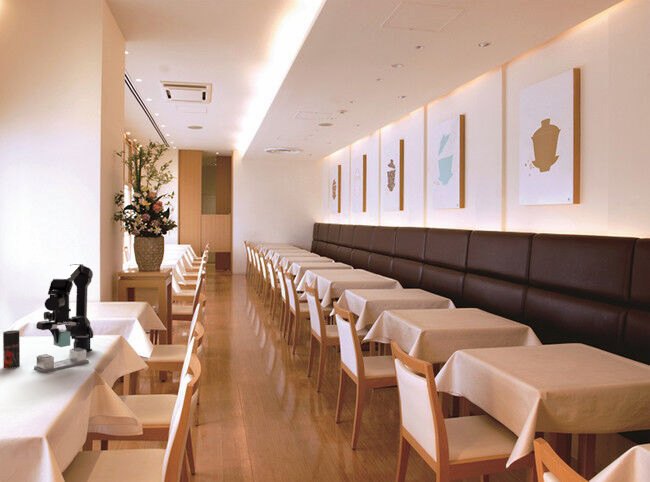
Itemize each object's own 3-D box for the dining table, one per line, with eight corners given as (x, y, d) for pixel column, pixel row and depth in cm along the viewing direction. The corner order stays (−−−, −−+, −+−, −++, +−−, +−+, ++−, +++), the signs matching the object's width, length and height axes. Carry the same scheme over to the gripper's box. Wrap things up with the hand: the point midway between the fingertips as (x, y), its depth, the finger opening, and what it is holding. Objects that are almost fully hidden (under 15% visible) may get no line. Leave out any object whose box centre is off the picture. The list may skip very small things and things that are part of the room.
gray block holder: (78, 359, 227) (78, 346, 227) (88, 362, 222) (88, 349, 221) (34, 368, 211) (34, 355, 211) (44, 372, 206) (44, 358, 206)
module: (62, 342, 220) (62, 328, 219) (70, 345, 216) (70, 331, 216) (53, 344, 217) (53, 330, 216) (61, 347, 213) (60, 332, 212)
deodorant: (23, 365, 216) (22, 331, 215) (10, 369, 210) (10, 333, 210) (12, 363, 218) (12, 329, 217) (0, 367, 212) (-1, 332, 212)
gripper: (73, 301, 228) (74, 335, 228) (30, 307, 213) (30, 343, 213) (86, 304, 221) (86, 339, 222) (42, 310, 206) (42, 347, 207)
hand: (62, 342), depth 216 cm, fingers closed on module, 4 cm apart
